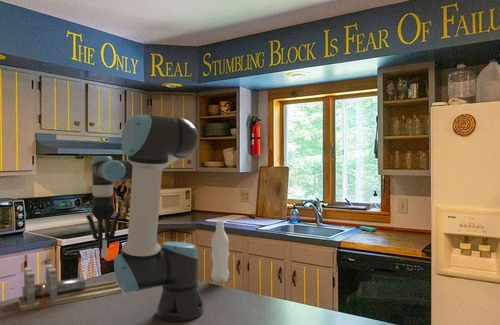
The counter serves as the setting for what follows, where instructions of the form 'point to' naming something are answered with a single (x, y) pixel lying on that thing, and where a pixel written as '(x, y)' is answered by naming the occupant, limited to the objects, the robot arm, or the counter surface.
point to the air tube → (62, 288)
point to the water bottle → (220, 254)
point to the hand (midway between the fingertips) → (104, 256)
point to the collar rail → (55, 299)
